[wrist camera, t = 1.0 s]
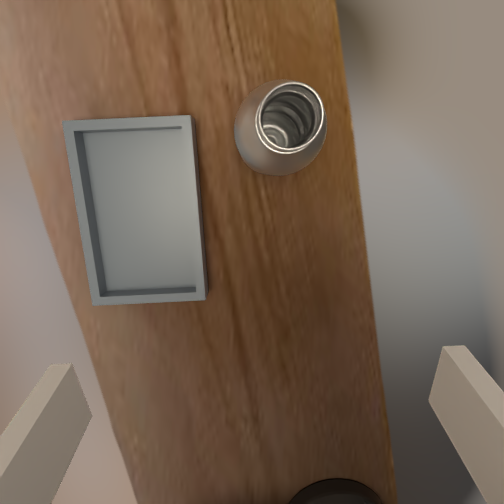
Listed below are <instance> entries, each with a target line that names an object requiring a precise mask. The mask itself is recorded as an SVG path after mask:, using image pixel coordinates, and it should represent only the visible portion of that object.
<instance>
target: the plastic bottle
mask: <svg viewBox="0 0 504 504" xmlns="http://www.w3.org/2000/svg"><path fill="white" fill-rule="evenodd" d="M326 132H327V118H326V113H325V110H324V106H323V103H322V100H321V98H320V96H319V95H318V93H317V92H316V91H315V90H314V89H313V88H312V87H310V86H309V85H307V84H304V83H302V82H296V81H293V80H286V79H282V80H273V81H270V82H266V83H264V84H262V85H260V86H258V87H257V88H256V89H254V90H253V91H252V92H251V93H249V95H248V96H247V97H246V98H245V99H244V100H243V102H242V104H241V106H240V107H239V109H238V112H237V115H236V118H235V125H234V137H235V141H236V146H237V148H238V150H239V152H240V155H241V157H242V159H243V161H244V162H245V164H246V165H247V166H248V167H249V168H250V169H252V170H254V171H255V172H258V173H261V174H267V175H273V176H284V175H289V174H293V173H295V172H297V171H299V170H302V169H303V168H305V167H306V166H307V165H309V164H310V163H311V162H312V161H313V160H314V159H315V158H316V156H317V155H318V153H319V152H320V150H321V148H322V146H323V143H324V141H325V137H326Z"/></svg>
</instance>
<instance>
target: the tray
mask: <svg viewBox="0 0 504 504" xmlns="http://www.w3.org/2000/svg"><path fill="white" fill-rule="evenodd" d="M62 125H63V131H64V137H65V143H66V149H67V155H68V161H69V167H70V173H71V179H72V185H73V191H74V197H75V203H76V209H77V215H78V221H79V227H80V233H81V239H82V245H83V251H84V257H85V263H86V269H87V275H88V281H89V287H90V293H91V299H92V305H93V306H96V305H117V304H137V303H158V302H178V301H198V300H206V297H207V294H208V279H207V267H206V254H205V242H204V229H203V217H202V204H201V192H200V179H199V167H198V154H197V142H196V129H195V119H194V118H193V117H192V116H191V115H182V116H160V117H138V118H116V119H93V120H71V121H62Z"/></svg>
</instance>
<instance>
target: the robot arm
mask: <svg viewBox="0 0 504 504" xmlns="http://www.w3.org/2000/svg"><path fill="white" fill-rule="evenodd" d="M428 401H429V403H430V405H431V407H432V408H433V410H434V412H435V413H436V415H437V417H438V419H439V420H440V422H441V424H442V426H443V427H444V429H445V431H446V433H447V434H448V436H449V438H450V440H451V441H452V443H453V445H454V447H455V449H456V450H457V452H458V454H459V455H460V457H461V459H462V461H463V463H464V464H465V466H466V468H467V470H468V471H469V473H470V475H471V477H472V478H473V480H474V482H475V484H476V485H477V487H478V489H479V491H480V492H481V494H482V496H483V498H484V499H485V501H486V503H487V504H504V392H503V391H502V390H501V388H500V387H499V386H498V385H497V384H496V382H495V381H494V380H493V379H492V378H491V376H489V374H488V373H487V372H486V371H485V369H484V368H483V367H482V366H481V364H480V363H479V362H478V361H477V360H476V359H475V357H474V356H473V355H472V354H471V352H470V351H469V350H468V349H467V348H466V346H464V345H462V346H443V347H442V351H441V355H440V359H439V363H438V366H437V370H436V374H435V377H434V381H433V385H432V389H431V393H430V396H429V400H428ZM91 417H92V414H91V411H90V409H89V406H88V404H87V401H86V398H85V396H84V393H83V391H82V388H81V385H80V383H79V380H78V377H77V375H76V372H75V370H74V367H73V365H72V363H71V364H51V365H50V366H49V368H48V369H47V370H46V372H45V373H44V375H43V376H42V378H41V379H40V380H39V382H38V383H37V385H36V386H35V388H34V389H33V390H32V392H31V394H30V395H29V396H28V398H27V399H26V400H25V402H24V403H23V405H22V406H21V408H20V409H19V410H18V412H17V413H16V415H15V416H14V418H13V419H12V420H11V422H10V423H9V425H8V426H7V428H6V429H5V430H4V432H3V433H2V435H1V436H0V504H51V503H52V501H53V499H54V497H55V495H56V492H57V490H58V488H59V486H60V484H61V482H62V480H63V477H64V475H65V473H66V471H67V469H68V467H69V465H70V462H71V460H72V458H73V456H74V454H75V452H76V449H77V447H78V445H79V443H80V441H81V439H82V437H83V435H84V432H85V430H86V428H87V426H88V424H89V422H90V420H91ZM289 504H382V503H381V501H380V499H379V497H378V496H377V495H376V494H375V493H374V492H373V491H372V490H371V489H369V488H368V487H366V486H364V485H362V484H360V483H357V482H354V481H350V480H343V479H334V480H326V481H322V482H318V483H315V484H313V485H311V486H309V487H307V488H305V489H304V490H302V491H301V492H299V493H298V494H297V495H296V496H295V497H294V498H293V499H292V501H291V502H290V503H289Z"/></svg>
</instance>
